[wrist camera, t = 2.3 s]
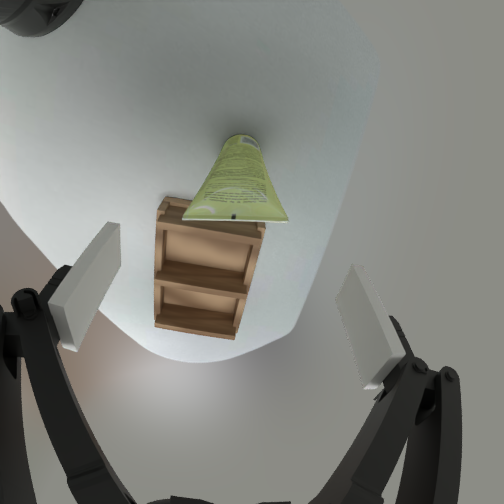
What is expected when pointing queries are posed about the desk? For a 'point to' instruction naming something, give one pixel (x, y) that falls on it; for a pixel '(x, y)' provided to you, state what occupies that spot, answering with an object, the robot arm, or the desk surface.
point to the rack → (202, 271)
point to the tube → (237, 187)
